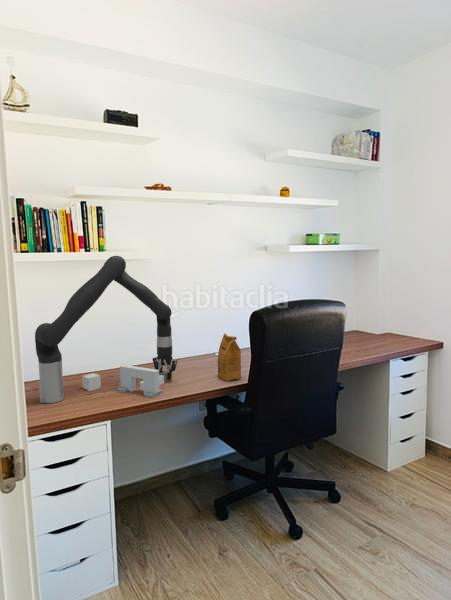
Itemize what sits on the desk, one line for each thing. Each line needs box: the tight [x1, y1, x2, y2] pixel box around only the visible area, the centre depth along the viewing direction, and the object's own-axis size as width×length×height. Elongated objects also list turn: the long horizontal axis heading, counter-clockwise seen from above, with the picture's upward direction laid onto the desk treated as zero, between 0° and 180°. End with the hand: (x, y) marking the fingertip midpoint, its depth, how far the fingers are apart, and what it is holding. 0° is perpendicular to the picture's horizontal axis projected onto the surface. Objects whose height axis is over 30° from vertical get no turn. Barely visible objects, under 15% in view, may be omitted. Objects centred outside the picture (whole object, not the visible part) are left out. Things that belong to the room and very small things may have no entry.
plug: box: [139, 370, 171, 392], centre depth 201 cm, size 19×4×4 cm, turn 152°
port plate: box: [116, 364, 164, 399], centre depth 190 cm, size 8×20×11 cm, turn 62°
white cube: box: [81, 373, 102, 392], centre depth 197 cm, size 6×6×6 cm
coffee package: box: [217, 333, 242, 382], centre depth 210 cm, size 10×12×22 cm
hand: (165, 378), depth 207 cm, fingers closed on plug, 4 cm apart
